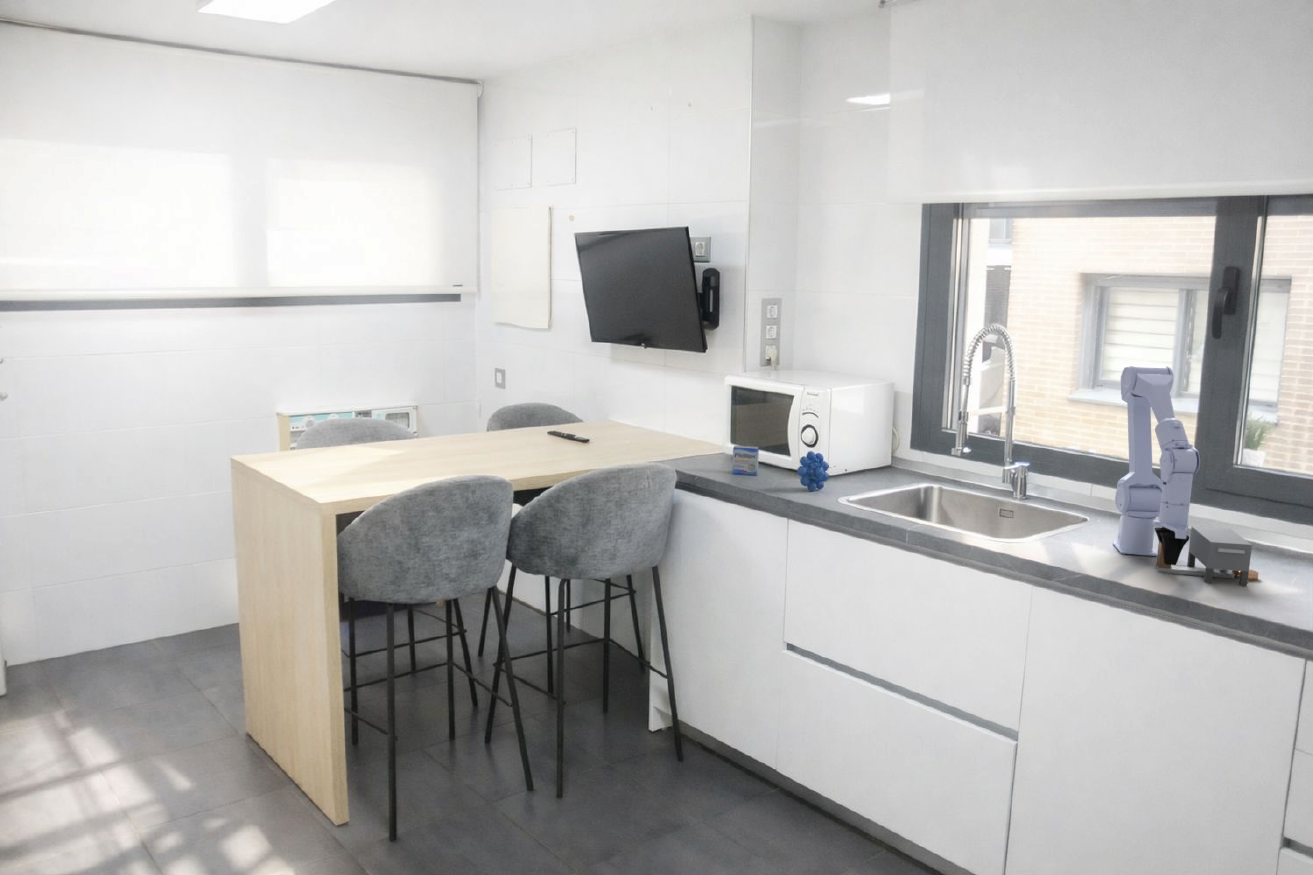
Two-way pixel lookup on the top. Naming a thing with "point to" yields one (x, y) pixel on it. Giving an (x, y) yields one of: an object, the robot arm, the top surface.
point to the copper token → (1251, 576)
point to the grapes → (813, 471)
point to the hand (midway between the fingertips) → (1168, 562)
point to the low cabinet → (1219, 551)
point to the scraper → (1186, 570)
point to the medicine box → (745, 460)
